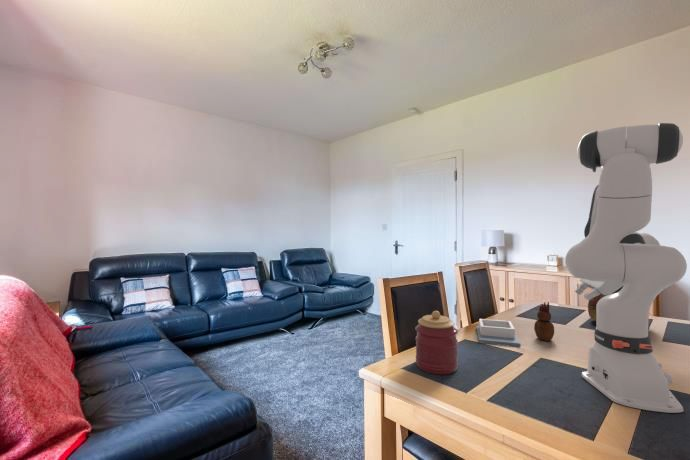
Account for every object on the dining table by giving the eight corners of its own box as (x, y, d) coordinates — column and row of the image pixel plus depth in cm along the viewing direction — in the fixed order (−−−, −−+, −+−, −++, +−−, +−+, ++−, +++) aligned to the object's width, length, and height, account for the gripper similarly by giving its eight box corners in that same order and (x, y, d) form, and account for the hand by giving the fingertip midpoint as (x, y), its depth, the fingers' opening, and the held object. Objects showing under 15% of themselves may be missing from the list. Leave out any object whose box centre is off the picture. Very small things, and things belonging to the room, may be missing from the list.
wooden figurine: (557, 342, 122) (557, 303, 122) (541, 342, 122) (541, 303, 122) (546, 336, 129) (546, 299, 128) (531, 336, 129) (531, 299, 129)
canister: (465, 365, 103) (464, 310, 103) (445, 379, 94) (444, 319, 94) (429, 354, 112) (428, 304, 112) (407, 366, 103) (407, 311, 103)
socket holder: (520, 346, 118) (520, 333, 118) (479, 342, 123) (478, 330, 123) (512, 331, 135) (512, 320, 135) (476, 328, 140) (476, 317, 140)
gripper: (594, 261, 128) (565, 284, 132) (618, 267, 109) (583, 295, 112) (607, 272, 127) (578, 296, 130) (634, 281, 107) (599, 308, 111)
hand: (581, 295), depth 121 cm, fingers open, 8 cm apart
